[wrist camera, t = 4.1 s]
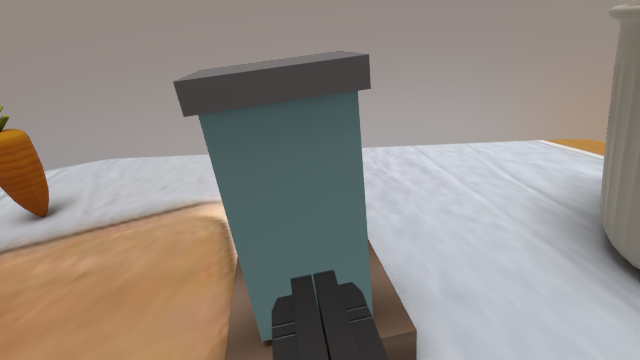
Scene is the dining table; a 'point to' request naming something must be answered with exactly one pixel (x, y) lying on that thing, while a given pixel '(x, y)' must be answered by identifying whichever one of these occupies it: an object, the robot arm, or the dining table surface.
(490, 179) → the dining table surface
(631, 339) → the dining table surface
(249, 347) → the grooved wooden base
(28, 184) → the carrot
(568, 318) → the dining table surface
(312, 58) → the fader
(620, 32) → the canister
